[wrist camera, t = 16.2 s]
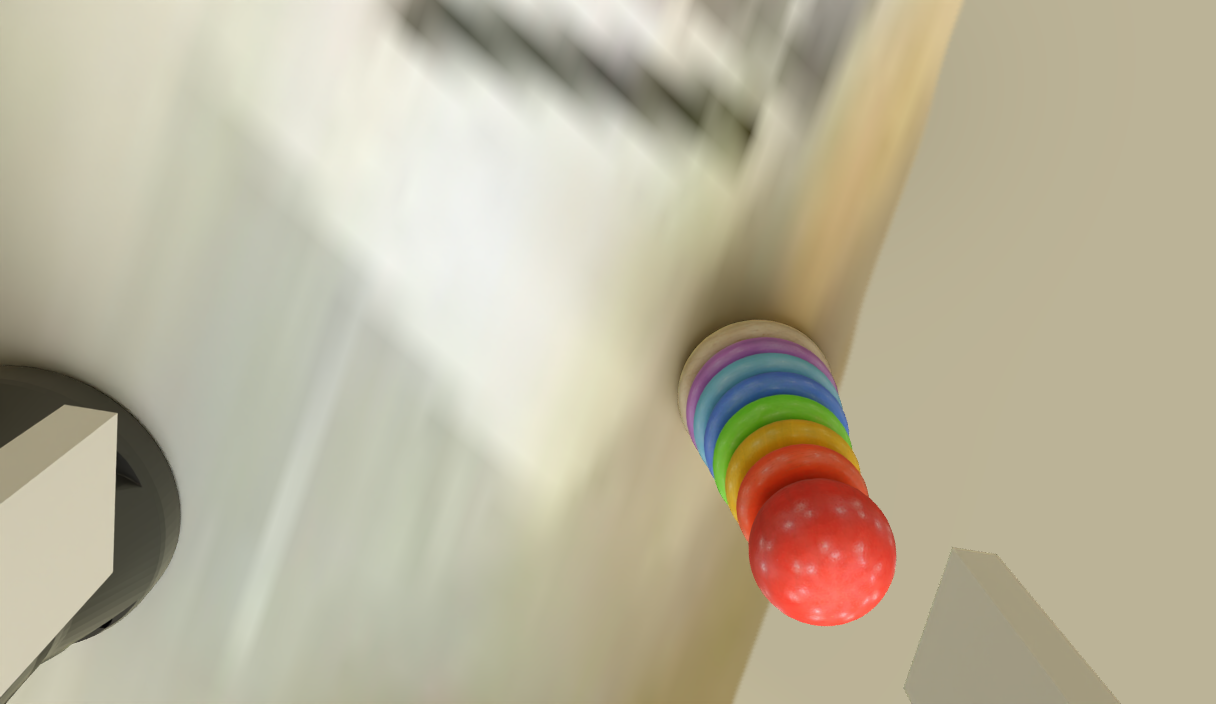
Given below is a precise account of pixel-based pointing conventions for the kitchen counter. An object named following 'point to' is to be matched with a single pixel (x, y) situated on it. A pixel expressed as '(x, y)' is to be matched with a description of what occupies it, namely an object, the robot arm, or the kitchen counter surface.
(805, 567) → the stacking toy
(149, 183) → the kitchen counter surface
